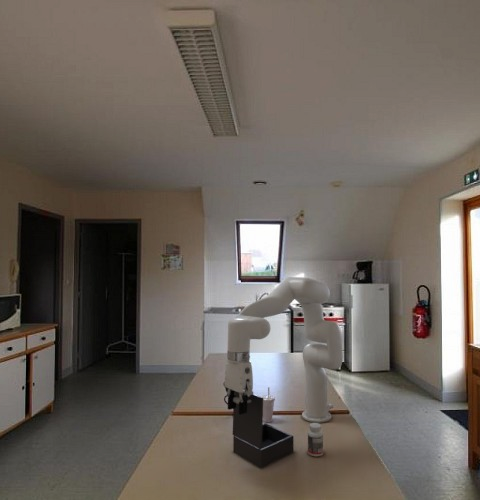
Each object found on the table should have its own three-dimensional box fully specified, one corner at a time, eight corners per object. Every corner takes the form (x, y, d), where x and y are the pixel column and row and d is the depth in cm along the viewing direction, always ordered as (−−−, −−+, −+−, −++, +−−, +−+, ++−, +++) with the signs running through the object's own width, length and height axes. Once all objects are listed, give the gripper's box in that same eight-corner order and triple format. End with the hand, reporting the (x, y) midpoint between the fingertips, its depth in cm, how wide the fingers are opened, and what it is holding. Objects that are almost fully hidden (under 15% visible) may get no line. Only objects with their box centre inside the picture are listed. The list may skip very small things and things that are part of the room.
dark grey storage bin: (265, 438, 145) (265, 423, 146) (293, 452, 135) (293, 435, 135) (233, 452, 135) (233, 435, 135) (261, 468, 124) (261, 450, 124)
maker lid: (235, 387, 136) (224, 389, 133) (263, 397, 126) (252, 400, 122) (234, 434, 135) (222, 437, 132) (262, 448, 125) (250, 453, 121)
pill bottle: (306, 449, 137) (306, 422, 137) (321, 449, 137) (320, 421, 137) (309, 457, 131) (309, 428, 132) (324, 456, 132) (324, 427, 132)
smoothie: (273, 424, 159) (273, 390, 159) (258, 423, 160) (258, 389, 160) (276, 418, 165) (276, 385, 165) (261, 417, 166) (261, 384, 167)
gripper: (263, 358, 125) (262, 415, 124) (231, 350, 137) (230, 402, 136) (246, 362, 120) (244, 421, 119) (214, 353, 132) (213, 406, 131)
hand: (237, 410), depth 127 cm, fingers closed on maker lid, 5 cm apart
